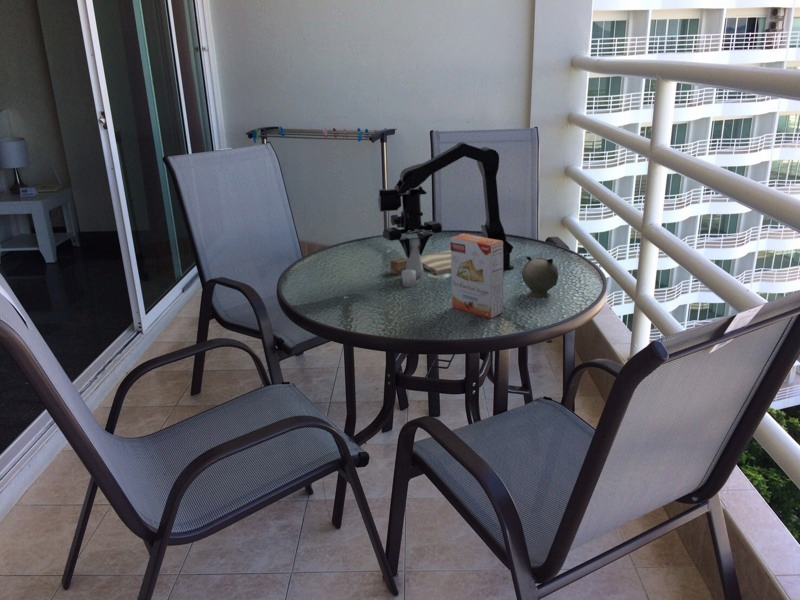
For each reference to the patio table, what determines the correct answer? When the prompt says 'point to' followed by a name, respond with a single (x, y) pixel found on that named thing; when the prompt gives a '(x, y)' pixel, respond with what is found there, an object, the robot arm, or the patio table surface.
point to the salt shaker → (415, 257)
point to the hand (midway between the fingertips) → (414, 256)
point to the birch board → (437, 262)
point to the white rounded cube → (409, 277)
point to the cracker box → (477, 275)
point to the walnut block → (398, 265)
